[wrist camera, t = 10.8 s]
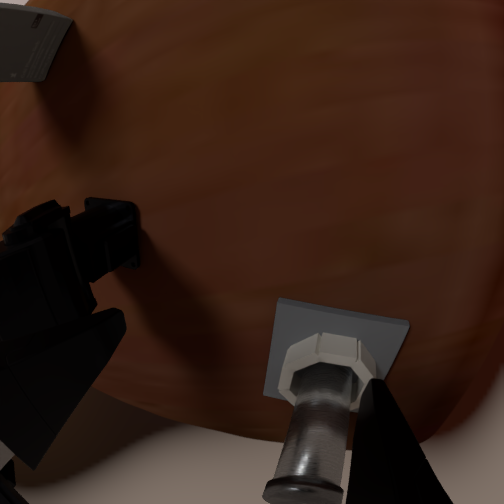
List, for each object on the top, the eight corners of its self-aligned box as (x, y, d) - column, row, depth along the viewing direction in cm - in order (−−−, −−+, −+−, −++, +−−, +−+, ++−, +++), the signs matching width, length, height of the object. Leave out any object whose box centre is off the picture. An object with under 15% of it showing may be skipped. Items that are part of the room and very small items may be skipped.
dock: (264, 389, 28) (256, 412, 25) (279, 297, 23) (270, 320, 20) (364, 407, 26) (363, 431, 23) (408, 320, 21) (414, 345, 18)
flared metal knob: (292, 355, 24) (248, 488, 13) (347, 342, 22) (329, 490, 11) (311, 389, 25) (280, 510, 14) (361, 380, 23) (348, 511, 12)
